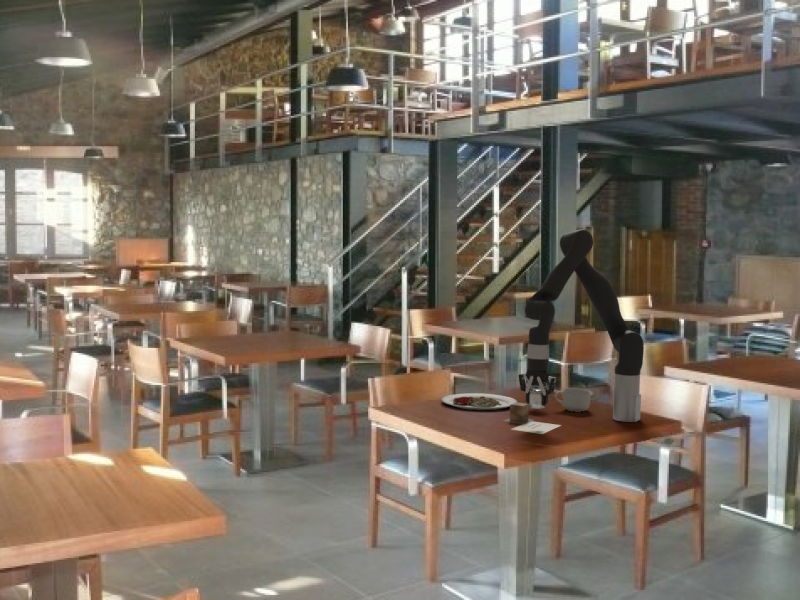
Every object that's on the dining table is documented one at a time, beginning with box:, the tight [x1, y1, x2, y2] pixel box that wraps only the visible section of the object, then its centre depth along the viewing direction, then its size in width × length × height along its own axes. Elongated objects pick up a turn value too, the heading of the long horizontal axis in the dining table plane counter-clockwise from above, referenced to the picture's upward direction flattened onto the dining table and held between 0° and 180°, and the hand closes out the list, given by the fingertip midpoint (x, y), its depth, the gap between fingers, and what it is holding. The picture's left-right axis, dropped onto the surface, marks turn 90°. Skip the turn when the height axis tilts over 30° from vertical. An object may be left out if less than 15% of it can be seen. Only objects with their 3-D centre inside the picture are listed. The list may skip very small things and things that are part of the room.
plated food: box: [441, 392, 518, 411], centre depth 364 cm, size 30×30×3 cm
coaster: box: [502, 417, 535, 425], centre depth 332 cm, size 9×9×1 cm
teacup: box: [554, 387, 592, 413], centre depth 355 cm, size 14×11×8 cm
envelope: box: [510, 420, 562, 435], centre depth 321 cm, size 12×17×1 cm
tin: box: [529, 389, 545, 410], centre depth 320 cm, size 5×5×6 cm
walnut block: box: [509, 401, 529, 422], centre depth 332 cm, size 5×5×6 cm
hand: (536, 404), depth 321 cm, fingers closed on tin, 5 cm apart
